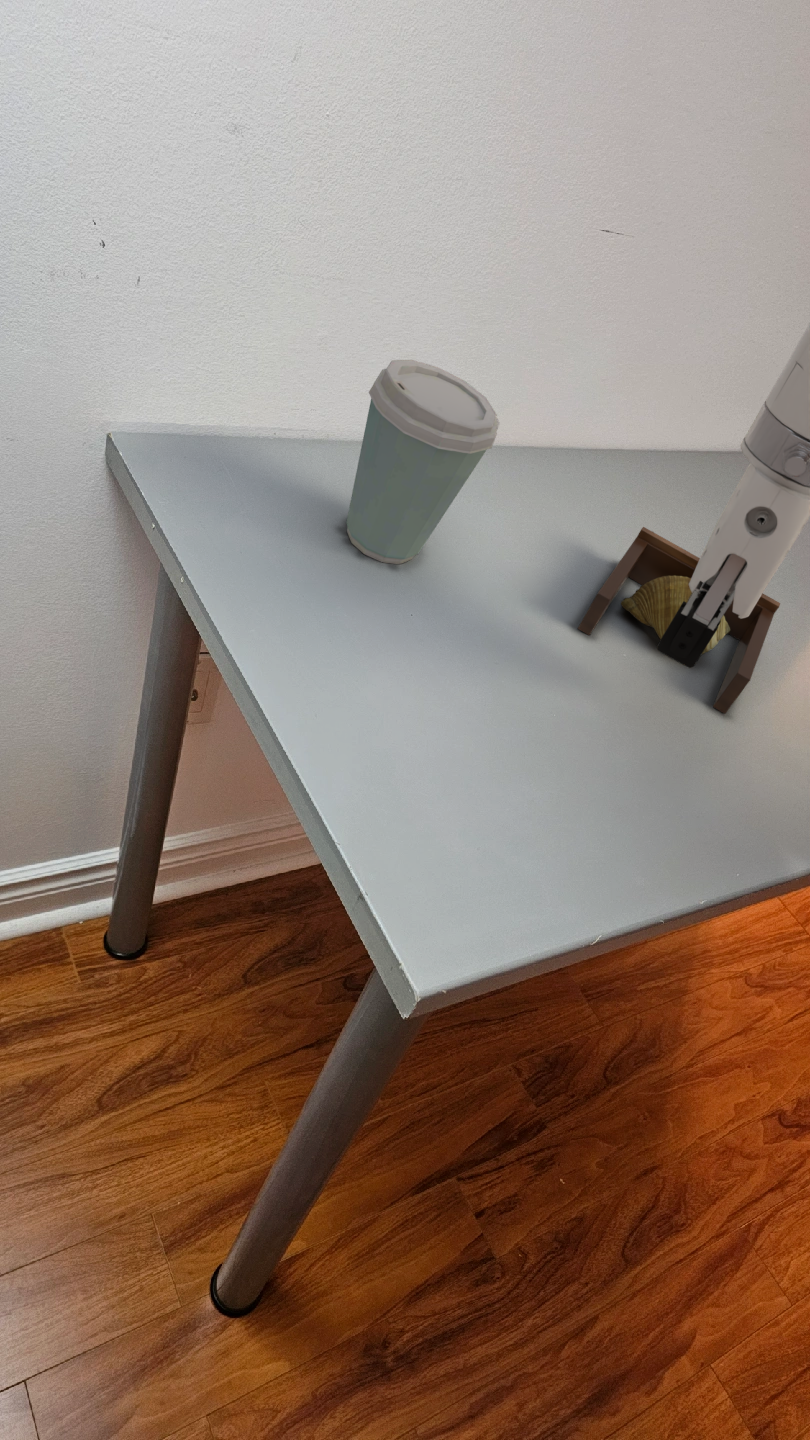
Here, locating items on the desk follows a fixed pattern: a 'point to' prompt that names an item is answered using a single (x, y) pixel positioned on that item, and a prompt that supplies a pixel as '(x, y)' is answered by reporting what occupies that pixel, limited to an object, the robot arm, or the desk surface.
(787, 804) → the desk surface
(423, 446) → the disposable coffee cup
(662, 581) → the seashell
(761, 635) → the frame
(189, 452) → the desk surface
